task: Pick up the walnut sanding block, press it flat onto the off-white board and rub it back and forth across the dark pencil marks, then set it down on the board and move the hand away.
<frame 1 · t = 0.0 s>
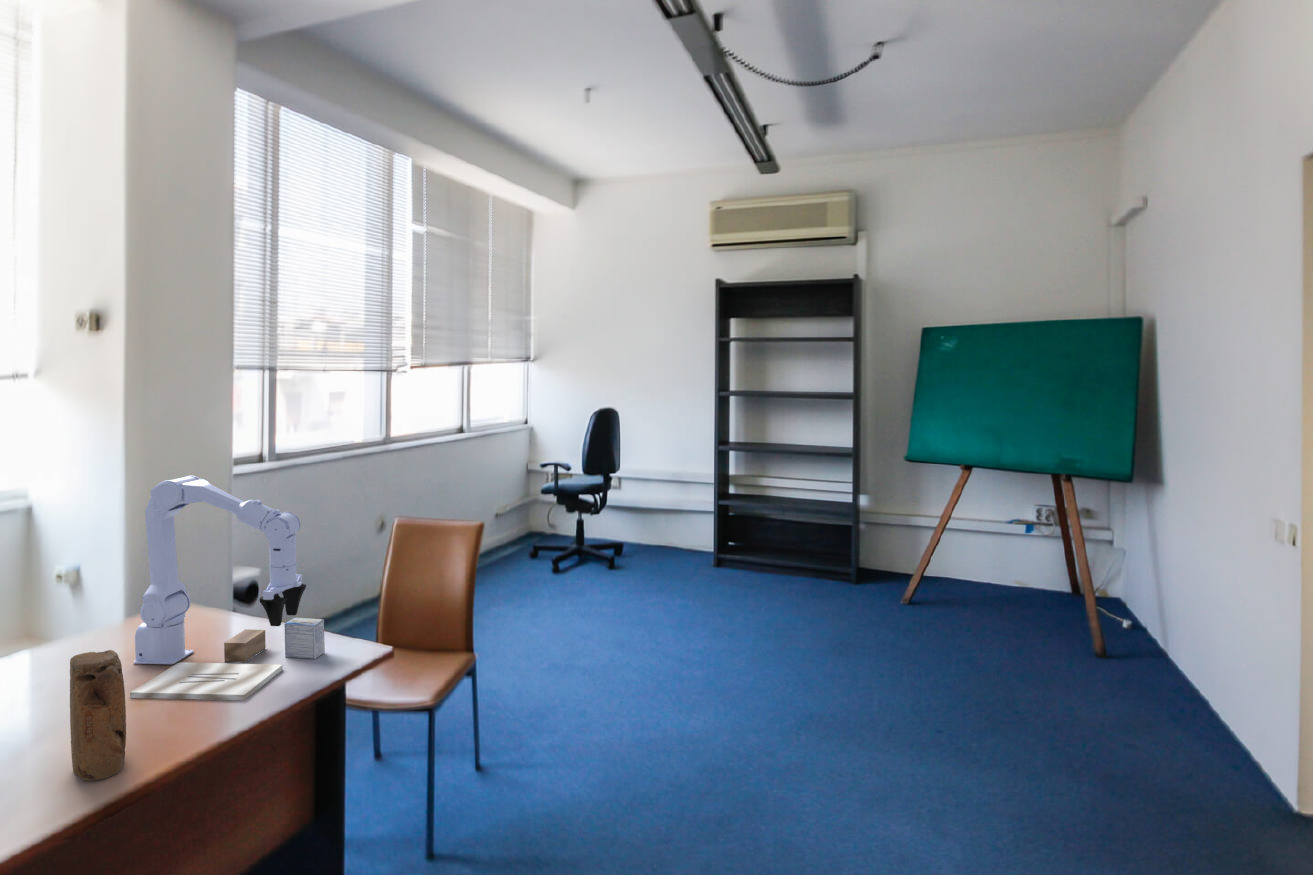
hand: (283, 620, 173), 10 cm above the table, tool pointing down, fingers open, 7 cm apart
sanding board: (210, 682, 160), on the table
medicine box: (305, 655, 178), on the table
block: (100, 769, 126), on the table
sanding block: (245, 655, 176), on the table
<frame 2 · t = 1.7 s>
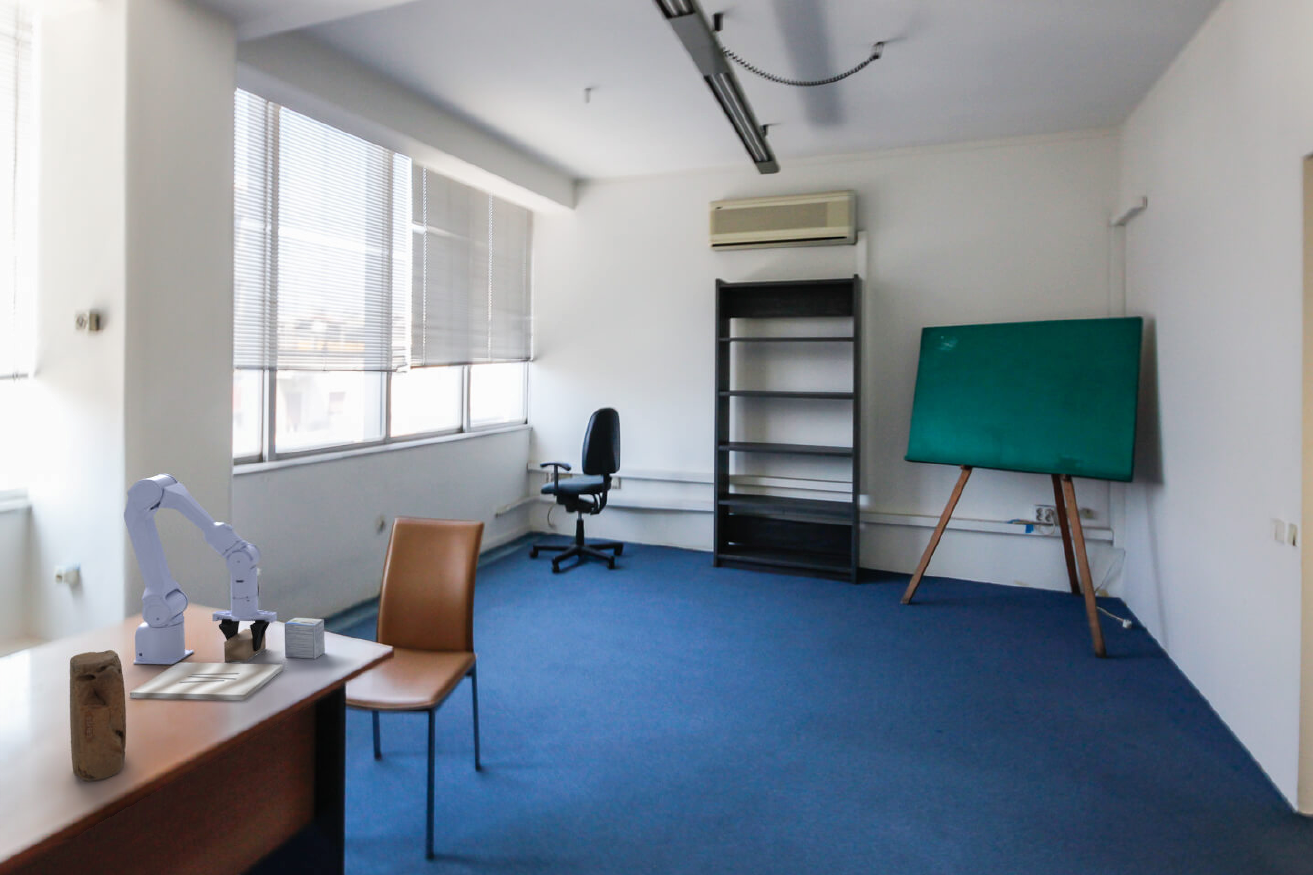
hand: (245, 649, 176), 1 cm above the table, tool pointing down, fingers closed on sanding block, 5 cm apart
sanding block: (245, 655, 176), on the table, touching gripper
everything else where it was.
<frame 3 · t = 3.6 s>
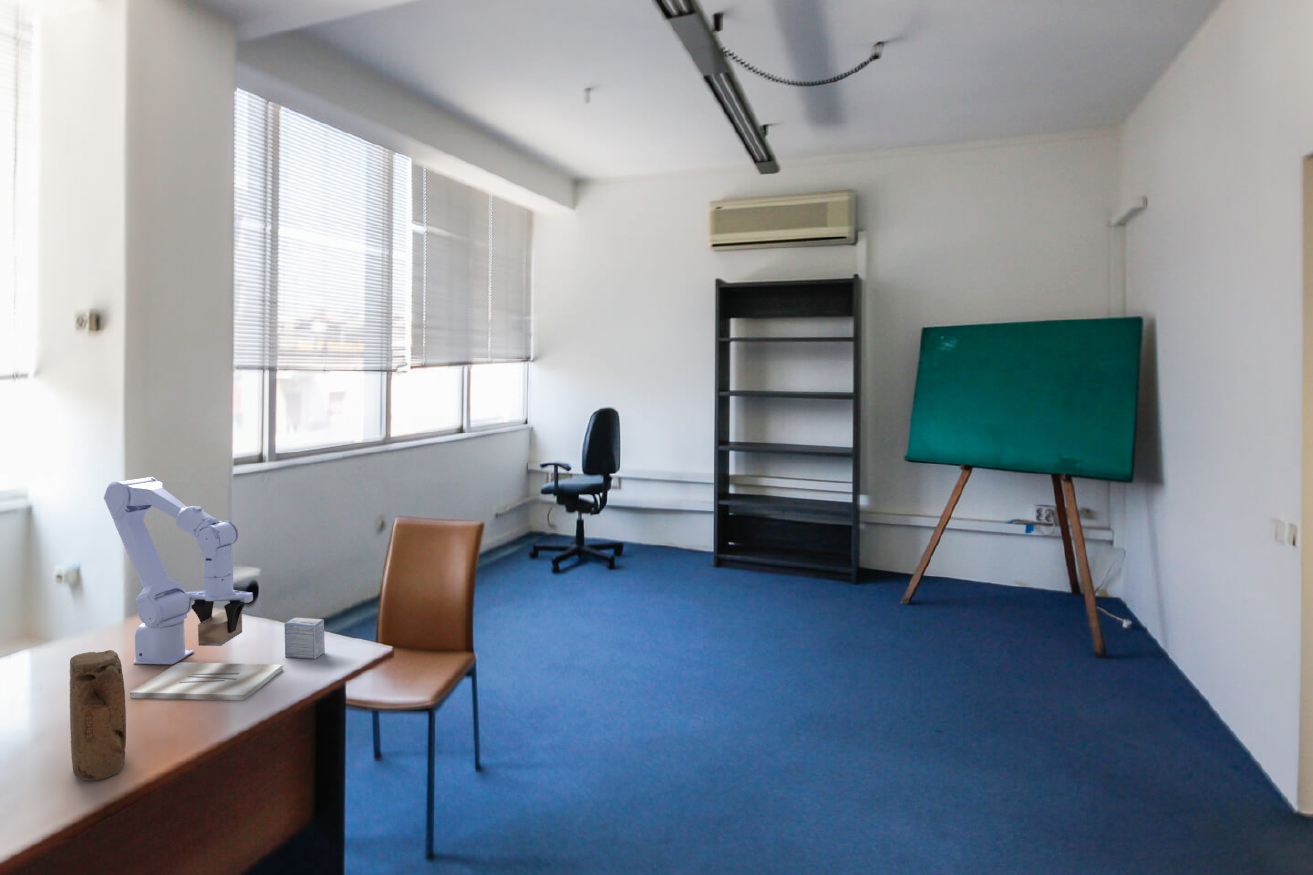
hand: (219, 631, 169), 8 cm above the table, tool pointing down, fingers closed on sanding block, 5 cm apart
sanding block: (220, 638, 169), point 6 cm above the table, touching gripper
everything else where it was.
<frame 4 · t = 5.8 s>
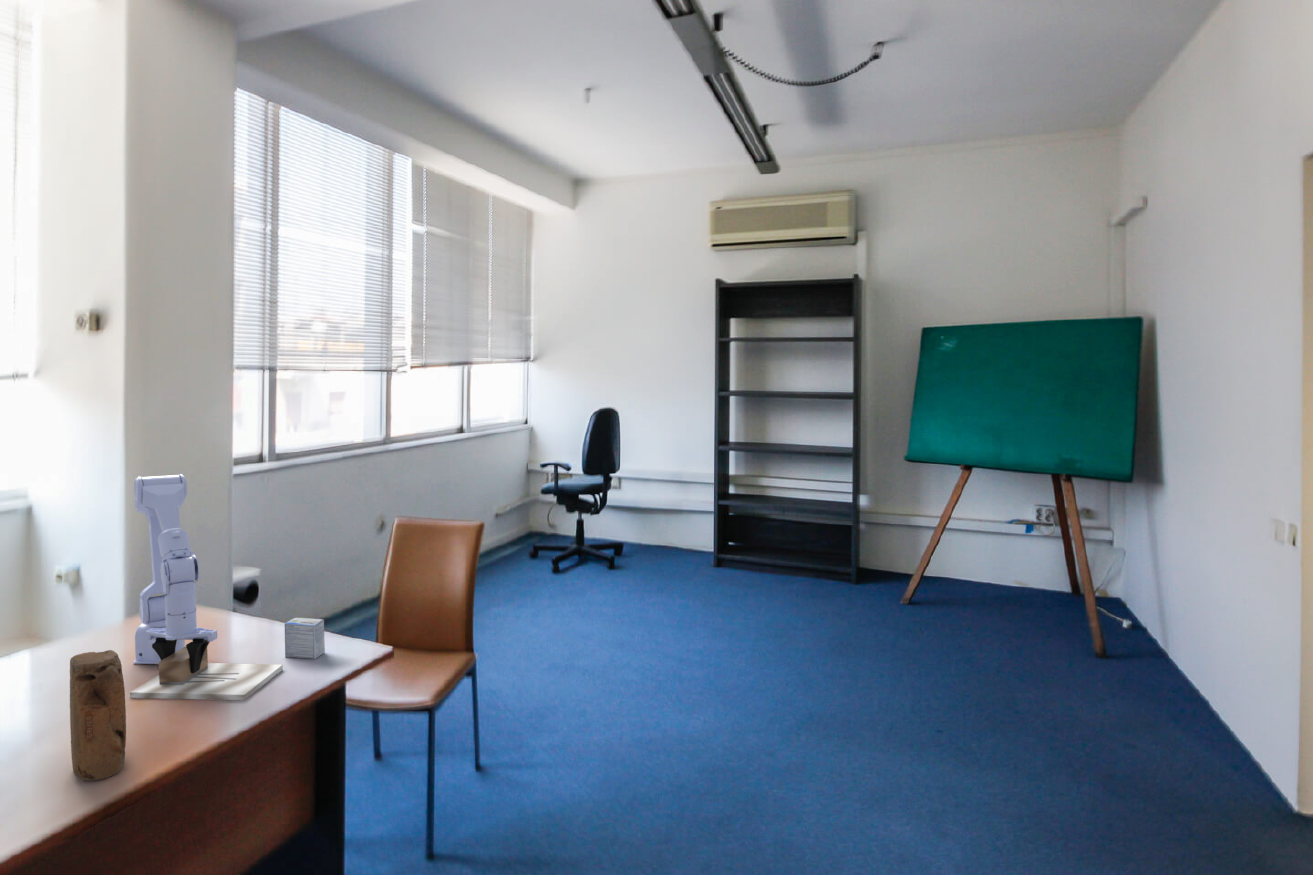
hand: (182, 670, 160), 3 cm above the table, tool pointing down, fingers closed on sanding block, 5 cm apart
sanding block: (184, 675, 161), point 1 cm above the table, touching gripper, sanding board
everything else where it was.
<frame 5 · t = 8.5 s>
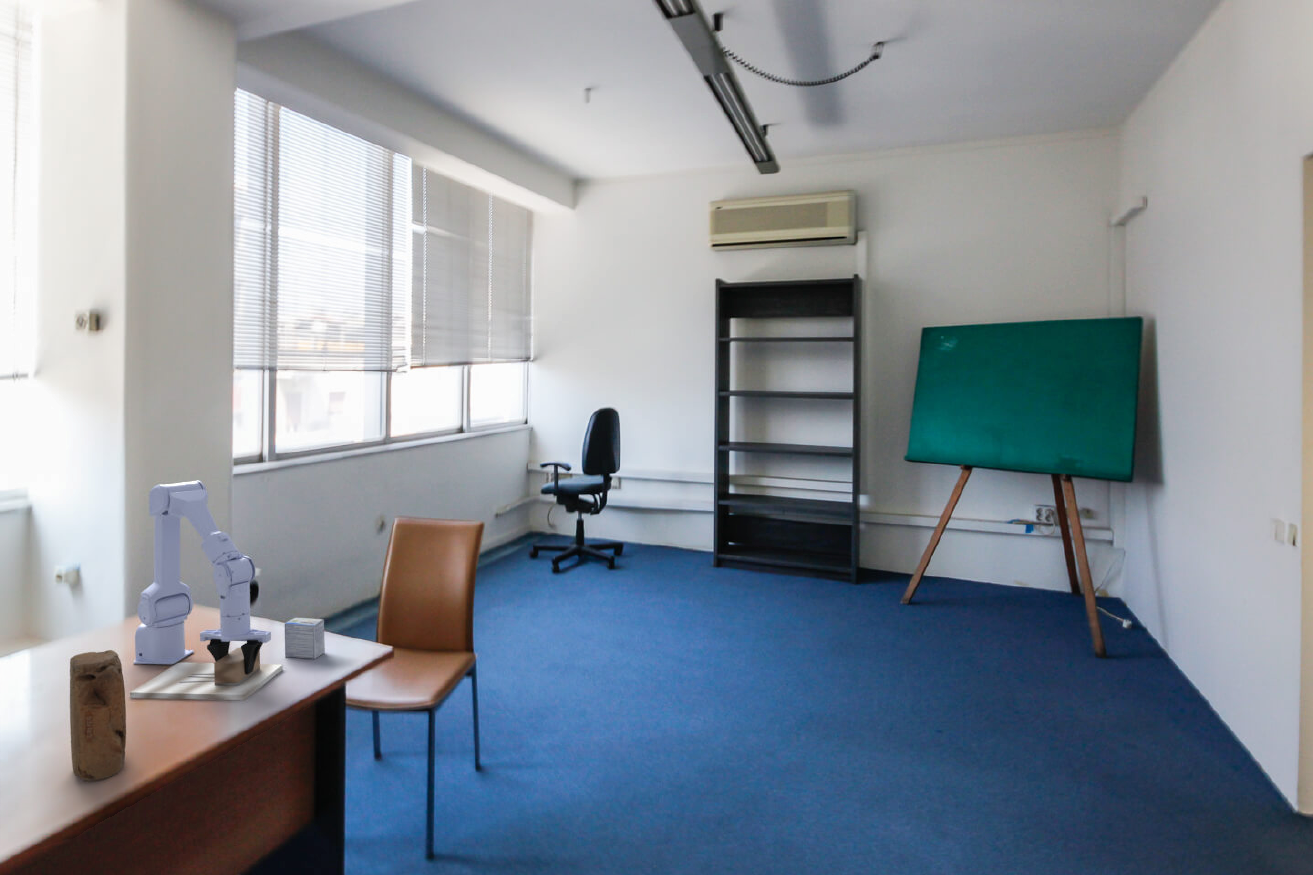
hand: (236, 672, 160), 3 cm above the table, tool pointing down, fingers closed on sanding block, 5 cm apart
sanding block: (237, 677, 161), point 1 cm above the table, touching gripper
everything else where it was.
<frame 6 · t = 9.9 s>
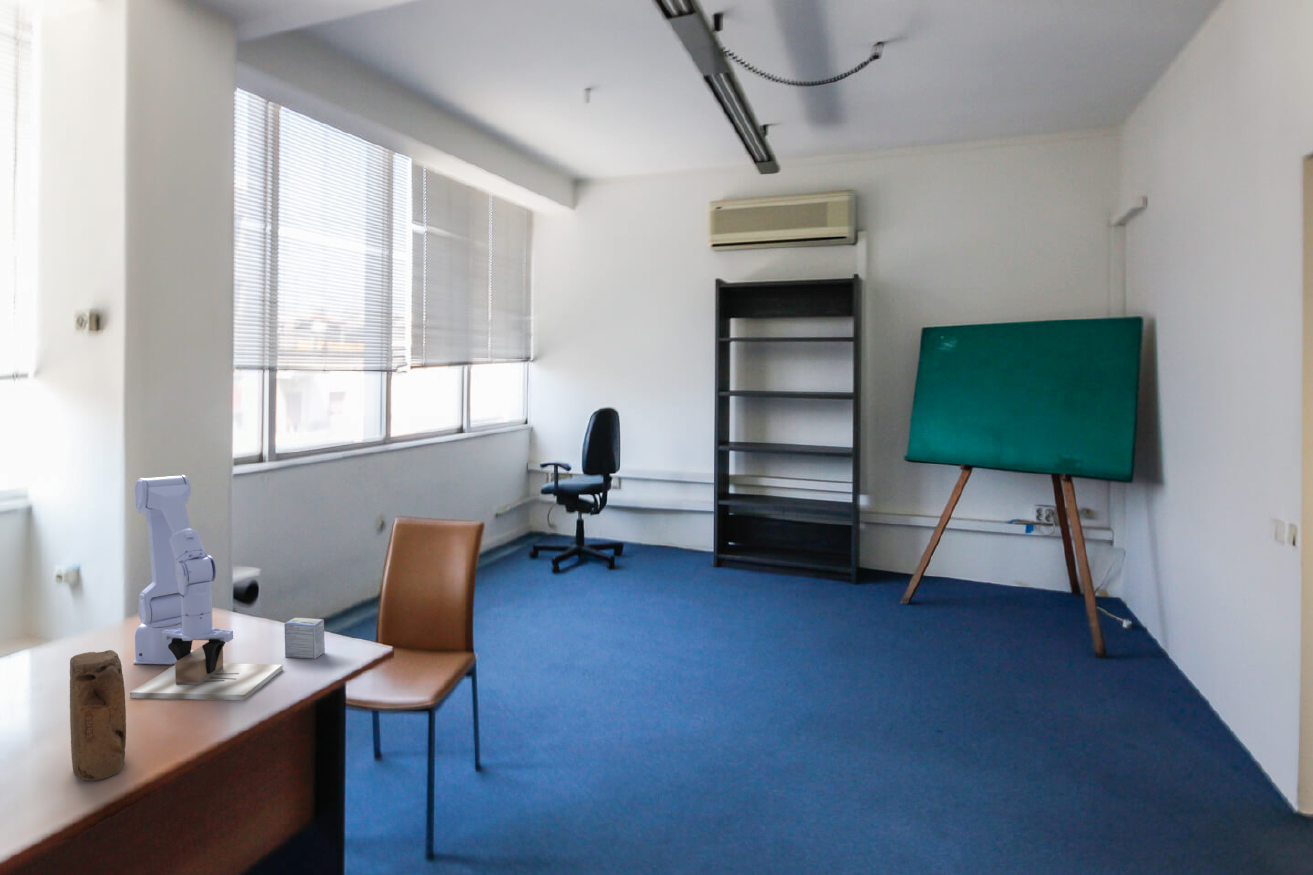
hand: (198, 671, 160), 3 cm above the table, tool pointing down, fingers closed on sanding block, 5 cm apart
sanding block: (200, 676, 161), point 1 cm above the table, touching gripper
everything else where it was.
when the fingers open (4 cm above the table, at t = 13.5 s): sanding block drops 1 cm, resting on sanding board.
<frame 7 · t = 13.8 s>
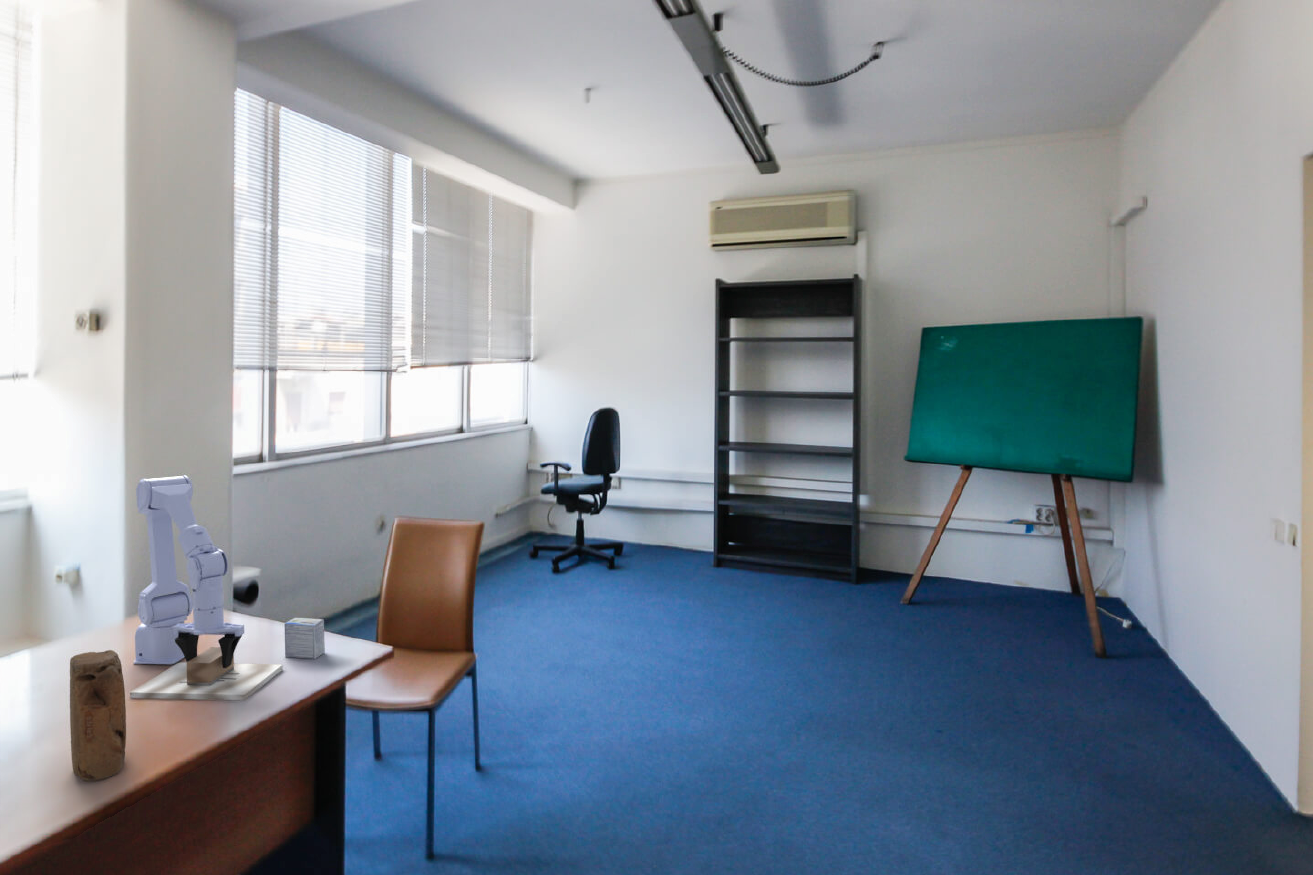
hand: (209, 665, 160), 4 cm above the table, tool pointing down, fingers open, 7 cm apart
sanding block: (211, 676, 161), point 1 cm above the table, touching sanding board
everything else where it was.
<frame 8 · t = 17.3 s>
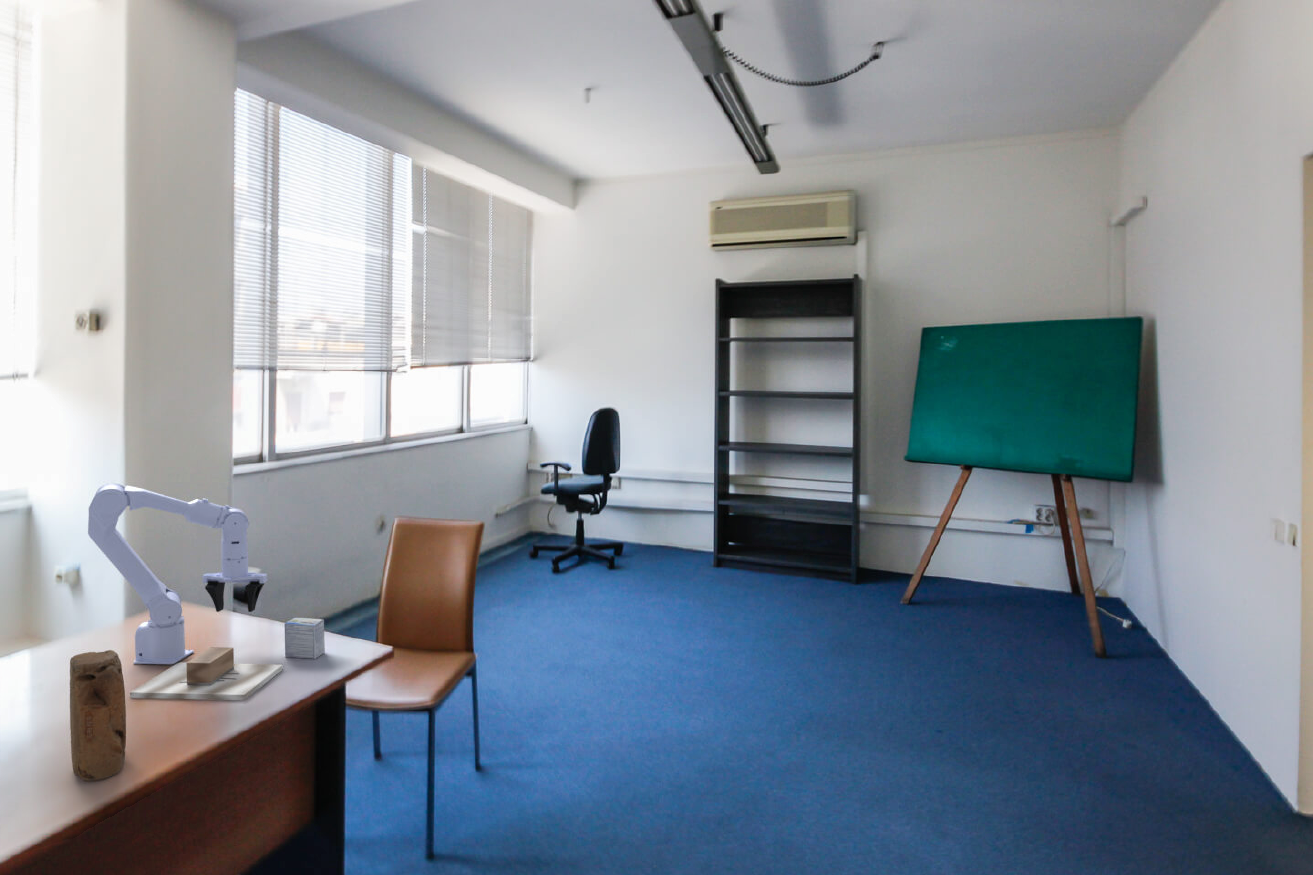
hand: (235, 610, 180), 9 cm above the table, tool pointing down, fingers open, 7 cm apart
nothing on the table moved.
at the end: sanding block inside the target area on the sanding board (0.5 cm from its centre), point 1.2 cm above the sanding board's base; sanding block tilted 0°; the gripper is holding nothing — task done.
